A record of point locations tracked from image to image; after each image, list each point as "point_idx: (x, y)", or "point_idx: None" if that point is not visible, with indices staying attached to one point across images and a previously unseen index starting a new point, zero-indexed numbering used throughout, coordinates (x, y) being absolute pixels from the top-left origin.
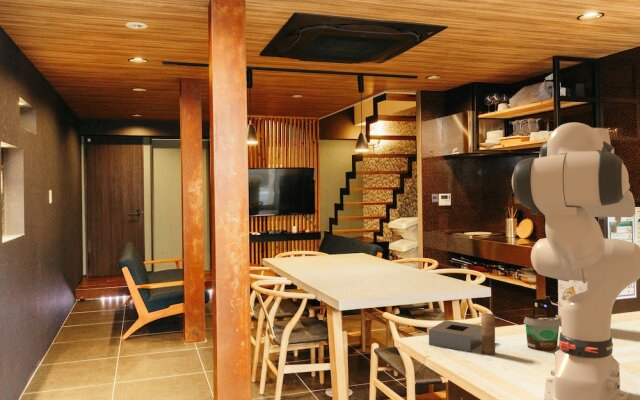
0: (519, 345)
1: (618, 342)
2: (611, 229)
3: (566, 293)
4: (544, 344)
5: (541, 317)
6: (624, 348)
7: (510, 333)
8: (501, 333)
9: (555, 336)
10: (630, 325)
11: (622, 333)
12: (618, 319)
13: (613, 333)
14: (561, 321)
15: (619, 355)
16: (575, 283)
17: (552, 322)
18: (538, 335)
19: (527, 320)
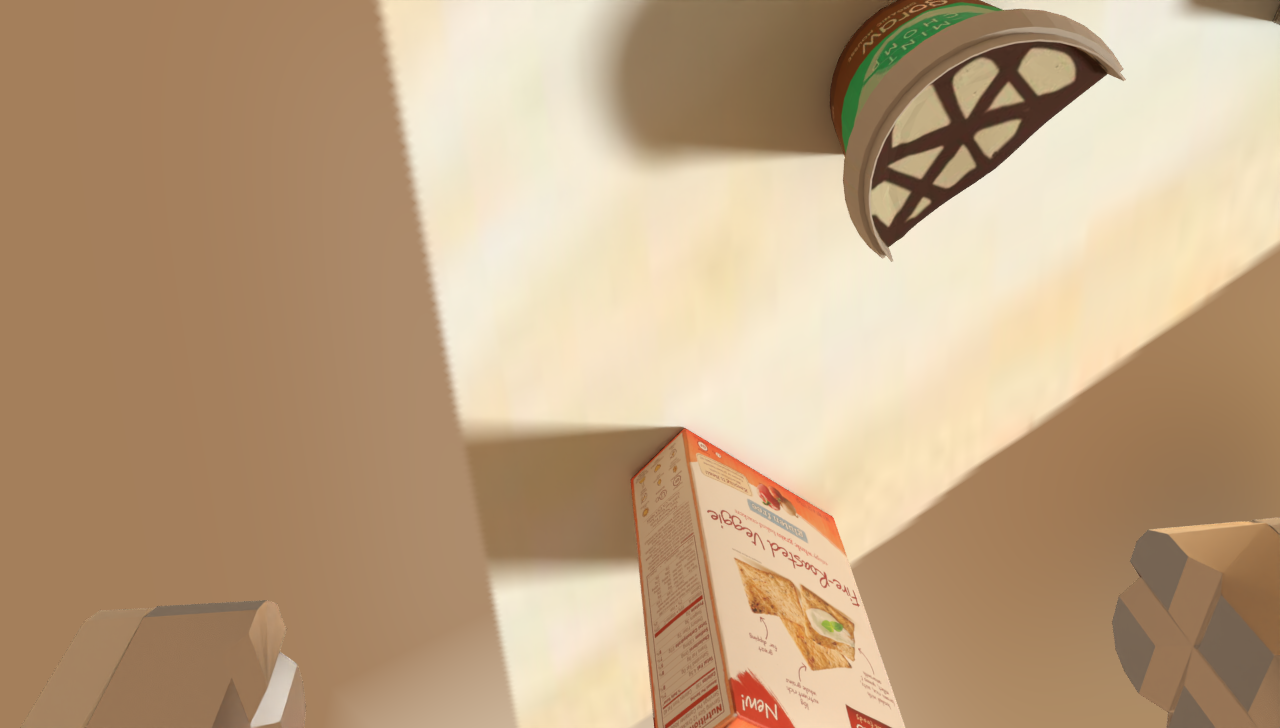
0: None
1: (528, 375)
2: (209, 664)
3: (837, 641)
4: (917, 7)
5: (992, 165)
6: (484, 289)
7: (1091, 259)
8: (1145, 234)
9: (861, 80)
10: (519, 642)
11: (532, 521)
12: (578, 696)
13: (571, 503)
14: (822, 522)
15: (486, 145)
16: (802, 682)
17: (916, 72)
18: (978, 10)
19: (1100, 44)
